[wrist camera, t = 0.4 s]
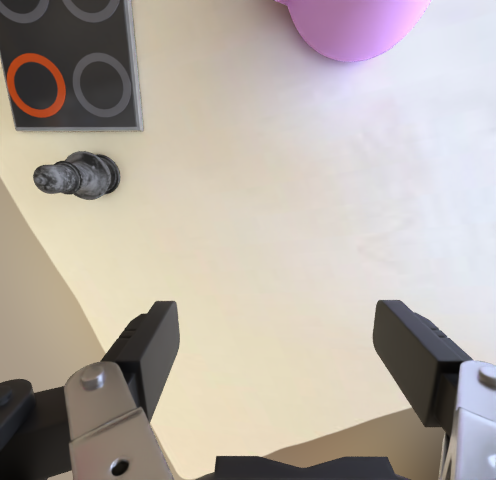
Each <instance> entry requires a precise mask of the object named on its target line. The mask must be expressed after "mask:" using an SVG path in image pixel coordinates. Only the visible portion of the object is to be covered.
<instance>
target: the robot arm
mask: <svg viewBox="0 0 496 480" xmlns="http://www.w3.org/2000/svg"><path fill="white" fill-rule="evenodd" d="M179 342H180V334H179V323H178V312H177V304H176V302H175V301H156V302H155V303H154V304H153V306H152V307H151V309H150V310H149V312H148V313H147V314H140V315H139V316H138V317H136V318H135V319H133V320H132V321H131V322H130V323H129V324H128V325H127V327H126V328H125V329H124V331H123V332H122V333H121V335H120V336H119V338H118V339H117V340H116V341H115V343H114V344H113V345H112V347H111V348H110V349H109V351H108V352H107V353H106V354H105V356H104V357H103V359H102V360H101V361H100V362H97V363H93V364H90V365H88V366H85V367H83V368H81V369H80V370H78V371H77V372H75V373H74V374H73V375H72V376H71V377H70V378H69V379H68V380H67V382H66V384H65V386H62V387H58V388H54V389H49V390H45V391H41V392H37V393H34V392H33V389H32V385H31V383H30V382H29V381H27V380H24V379H15V380H9V381H5V382H2V383H0V480H47V479H48V478H49V477H52V476H55V475H58V474H61V473H64V472H68V471H71V470H72V473H73V480H174V478H173V475H172V473H171V471H170V469H169V466H168V464H167V462H166V460H165V458H164V455H163V453H162V451H161V449H160V446H159V444H158V442H157V440H156V437H155V435H154V433H153V431H152V428H151V426H150V421H151V419H152V416H153V414H154V411H155V409H156V406H157V403H158V401H159V398H160V396H161V393H162V391H163V388H164V386H165V383H166V380H167V378H168V375H169V373H170V370H171V368H172V365H173V363H174V360H175V357H176V355H177V352H178V349H179ZM373 344H374V347H375V350H376V352H377V354H378V355H379V357H380V358H381V360H382V361H383V363H384V364H385V366H386V367H387V369H388V371H389V372H390V374H391V375H392V377H393V378H394V380H395V381H396V383H397V384H398V386H399V388H400V389H401V391H402V392H403V394H404V395H405V397H406V398H407V400H408V401H409V403H410V405H411V406H412V408H413V409H414V411H415V412H416V414H417V415H418V417H419V418H420V420H421V422H422V423H423V425H424V426H425V427H442V428H443V429H444V431H445V436H444V440H443V447H442V455H441V464H440V472H439V480H496V365H493V364H490V363H486V362H482V361H474V360H473V359H472V358H471V357H470V356H468V355H467V354H466V353H465V352H464V351H463V350H462V349H461V348H460V347H459V346H457V345H456V344H455V343H454V342H453V341H452V340H451V339H450V338H447V336H446V335H445V334H444V333H443V332H442V331H441V330H439V328H437V327H436V326H435V325H434V324H433V323H432V322H431V321H430V320H428V319H426V318H425V317H423V316H421V315H419V314H417V313H413V312H412V311H411V310H410V309H409V308H408V307H407V306H406V305H405V304H404V303H403V302H402V301H400V300H379V301H378V302H377V305H376V312H375V320H374V329H373ZM196 480H410V479H408V478H405V477H403V476H400V475H397V474H395V473H394V471H393V468H392V466H391V464H390V462H389V460H388V457H342V458H339V459H335V460H332V461H328V462H325V463H321V464H318V465H315V466H311V467H307V468H299V467H295V466H292V465H288V464H284V463H281V462H277V461H273V460H269V459H266V458H263V457H259V456H216V464H215V472H213V473H210V474H207V475H205V476H202V477H200V478H198V479H196Z"/></svg>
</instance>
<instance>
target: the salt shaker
mask: <svg viewBox="0 0 496 480" xmlns="http://www.w3.org/2000/svg"><path fill="white" fill-rule="evenodd" d="M33 179H34V183H35V185H36V186H37V187H38V188H39V189H40V190H41V191H43V192H45V193H49V194H54V193H60V192H61V193H64V194H74V195H76V196H77V197H79V198H82V199H86V200H93V199H97V198H99V197H101V196H102V195H104V194H108V193H111V192H113V191H114V190H115V189H116V188H117V187H118V184H119V182H120V173H119V170H118V167H117V165H116V164H115V163H114V162H113V161H112V160H111V159H110V158H108V157H106V156H104V155H94V154H92V153H89V152H86V151H79V152H75V153H73V154H71V155H70V156H68V157H67V159H66V160H65V161H59V162H57V163H55V164H54V165H43V166H40V167H38V168H37V169H36V170H35V172H34V175H33Z"/></svg>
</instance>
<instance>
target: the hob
mask: <svg viewBox="0 0 496 480" xmlns="http://www.w3.org/2000/svg"><path fill="white" fill-rule="evenodd" d="M0 58H1V63H2V68H3V72H4V77H5V82H6V87H7V91H8V96H9V101H10V106H11V110H12V115H13V120H14V124H15V129H16V131H21V132H104V131H144V128H143V118H142V107H141V97H140V87H139V76H138V66H137V55H136V45H135V35H134V24H133V14H132V3H131V0H0Z"/></svg>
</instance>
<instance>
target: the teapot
mask: <svg viewBox="0 0 496 480" xmlns="http://www.w3.org/2000/svg"><path fill="white" fill-rule="evenodd" d="M274 1H276V2H279V3H282V4H284V5H287V6H288V8H289V12H290V15H291V18H292V20H293V22H294V25H295V27H296V29H297V30H298V32H299V34H300V35H301V36H302V38H303V39H304V40H305V41H306V43H307V44H308V45H309V46H311V47H312V48H313V49H314V50H315V51H317V52H318V53H320V54H322V55H324V56H326V57H328V58H331V59H334V60H338V61H344V62H355V61H362V60H366V59H370V58H373V57H376V56H378V55H380V54H382V53H384V52H386V51H387V50H389V49H391V48H392V47H393V46H394V45H396V44H397V43H398V42H399V41H400V40H402V39H403V38H404V37H405V36H406V35H407V34H408V33H409V32H410V31H411V29H412V28H413V27H414V26H415V24H416V23H417V22H418V21H419V19H420V18H421V16H422V15H423V13H424V12H425V10H426V9H427V7H428V5H429V4H430V2H431V0H274Z"/></svg>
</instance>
